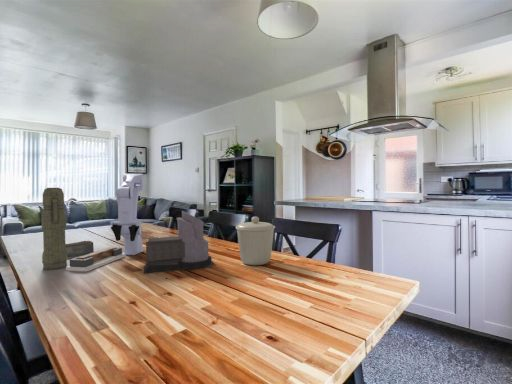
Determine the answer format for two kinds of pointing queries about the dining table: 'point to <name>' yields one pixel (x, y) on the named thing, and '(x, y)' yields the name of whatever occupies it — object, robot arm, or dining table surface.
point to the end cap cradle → (89, 264)
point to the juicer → (179, 248)
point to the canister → (255, 241)
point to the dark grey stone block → (79, 248)
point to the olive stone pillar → (53, 229)
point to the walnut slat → (99, 254)
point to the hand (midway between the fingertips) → (125, 240)
